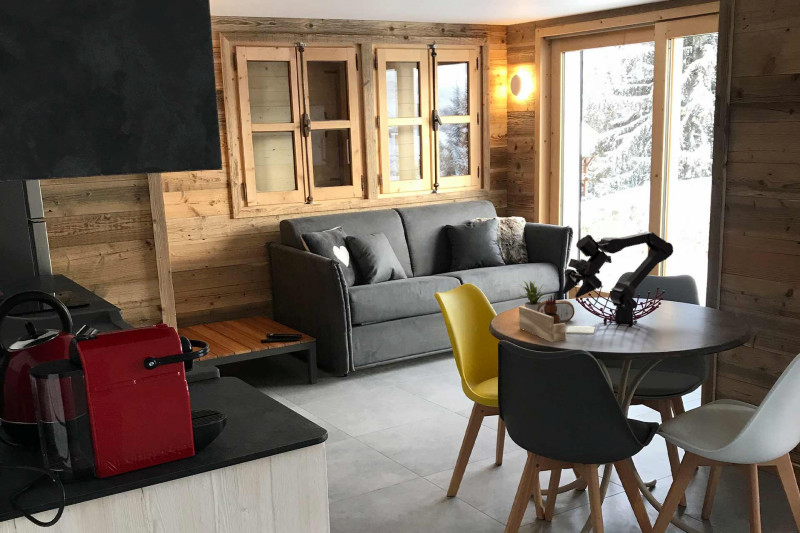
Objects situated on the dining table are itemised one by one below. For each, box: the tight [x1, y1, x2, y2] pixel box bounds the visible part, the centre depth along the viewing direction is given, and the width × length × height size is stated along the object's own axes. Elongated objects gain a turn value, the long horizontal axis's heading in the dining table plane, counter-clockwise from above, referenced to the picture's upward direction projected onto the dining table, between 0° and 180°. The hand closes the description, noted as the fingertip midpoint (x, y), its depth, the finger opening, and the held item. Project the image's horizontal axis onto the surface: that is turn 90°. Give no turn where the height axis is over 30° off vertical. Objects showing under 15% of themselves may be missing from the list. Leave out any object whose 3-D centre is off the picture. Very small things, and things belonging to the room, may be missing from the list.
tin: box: [537, 300, 575, 323], centre depth 320 cm, size 15×3×8 cm, turn 84°
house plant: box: [518, 280, 549, 311], centre depth 328 cm, size 14×14×16 cm
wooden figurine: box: [544, 293, 561, 324], centre depth 300 cm, size 7×6×15 cm
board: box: [566, 325, 596, 335], centre depth 302 cm, size 10×10×1 cm
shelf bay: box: [518, 305, 567, 342], centre depth 299 cm, size 6×24×9 cm, turn 20°
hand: (569, 295), depth 302 cm, fingers open, 9 cm apart
